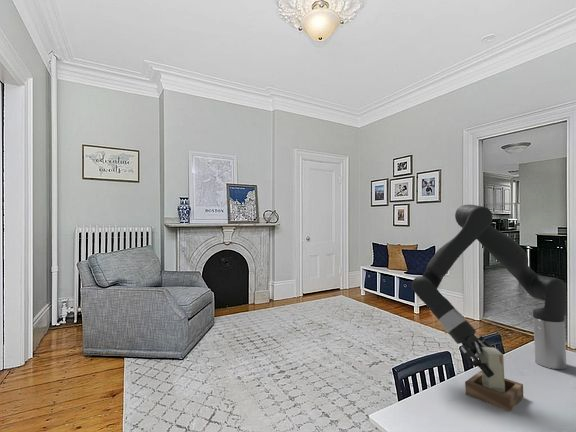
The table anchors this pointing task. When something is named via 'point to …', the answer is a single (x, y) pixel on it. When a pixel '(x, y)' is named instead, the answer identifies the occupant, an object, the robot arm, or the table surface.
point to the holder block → (495, 392)
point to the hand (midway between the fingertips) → (496, 372)
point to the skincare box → (493, 369)
